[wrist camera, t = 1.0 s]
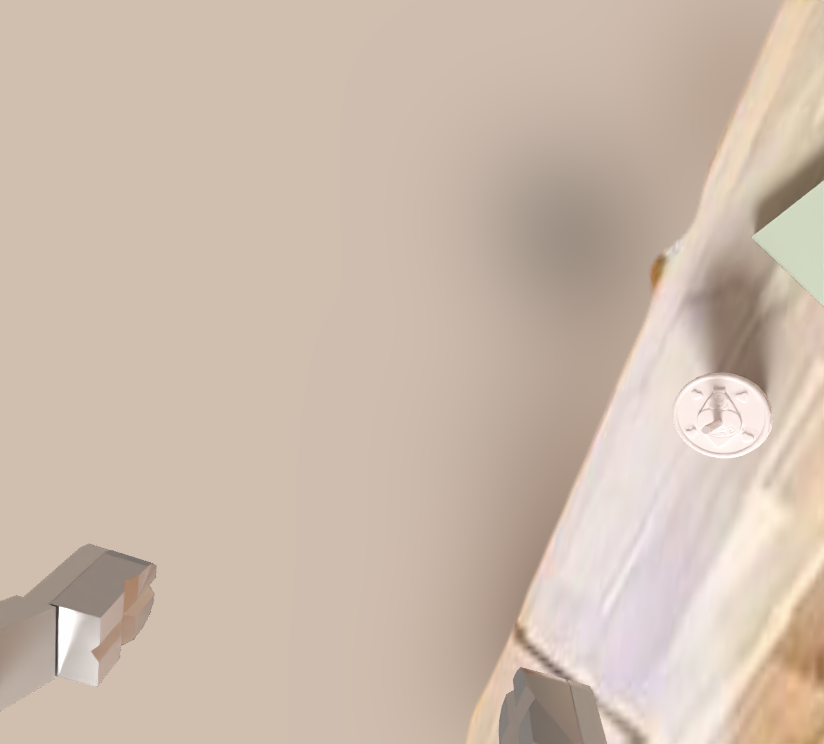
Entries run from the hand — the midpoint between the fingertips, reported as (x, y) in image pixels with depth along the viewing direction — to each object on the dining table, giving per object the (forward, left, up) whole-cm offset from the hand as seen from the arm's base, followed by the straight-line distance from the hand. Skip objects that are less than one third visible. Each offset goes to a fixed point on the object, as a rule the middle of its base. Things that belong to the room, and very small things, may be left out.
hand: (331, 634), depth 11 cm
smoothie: (-2, 0, -46) cm, 46 cm away
